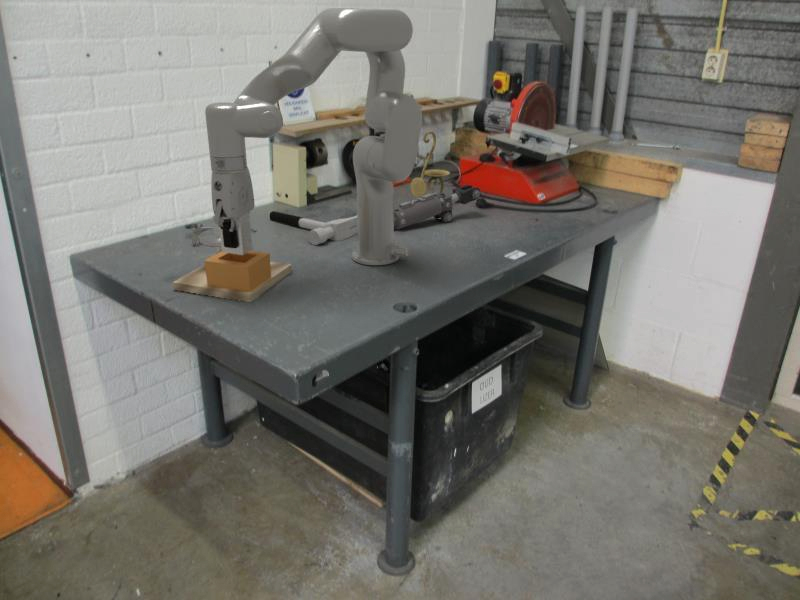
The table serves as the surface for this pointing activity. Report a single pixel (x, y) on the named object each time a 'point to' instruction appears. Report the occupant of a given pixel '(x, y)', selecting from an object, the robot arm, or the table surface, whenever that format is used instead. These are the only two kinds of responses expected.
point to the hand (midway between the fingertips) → (236, 243)
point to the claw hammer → (320, 227)
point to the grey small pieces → (198, 230)
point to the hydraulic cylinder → (433, 206)
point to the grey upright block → (240, 236)
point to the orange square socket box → (232, 272)
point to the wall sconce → (427, 173)
